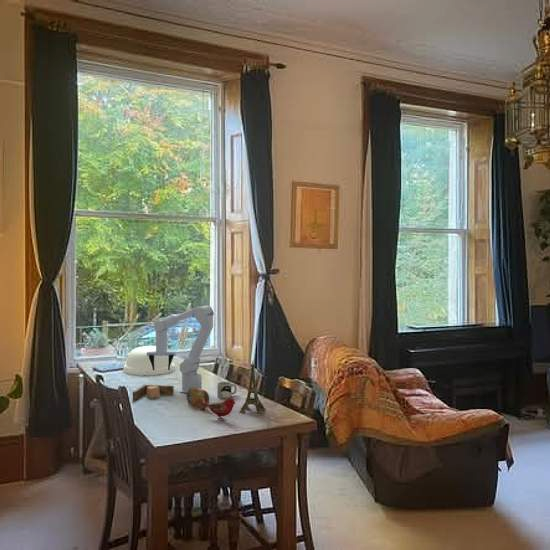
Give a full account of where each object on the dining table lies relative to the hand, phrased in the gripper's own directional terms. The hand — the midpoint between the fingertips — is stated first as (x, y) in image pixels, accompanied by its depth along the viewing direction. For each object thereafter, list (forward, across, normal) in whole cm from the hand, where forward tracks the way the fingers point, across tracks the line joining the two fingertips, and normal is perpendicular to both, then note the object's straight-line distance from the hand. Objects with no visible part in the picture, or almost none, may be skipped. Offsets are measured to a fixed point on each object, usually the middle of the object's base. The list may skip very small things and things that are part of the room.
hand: (161, 369), depth 285 cm
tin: (+10, +18, -38) cm, 44 cm away
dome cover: (+10, -9, +46) cm, 48 cm away
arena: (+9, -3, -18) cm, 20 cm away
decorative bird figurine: (+10, +26, -58) cm, 65 cm away
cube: (+9, -3, -18) cm, 20 cm away
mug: (+10, +32, -21) cm, 40 cm away
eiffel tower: (+10, +42, -47) cm, 64 cm away
